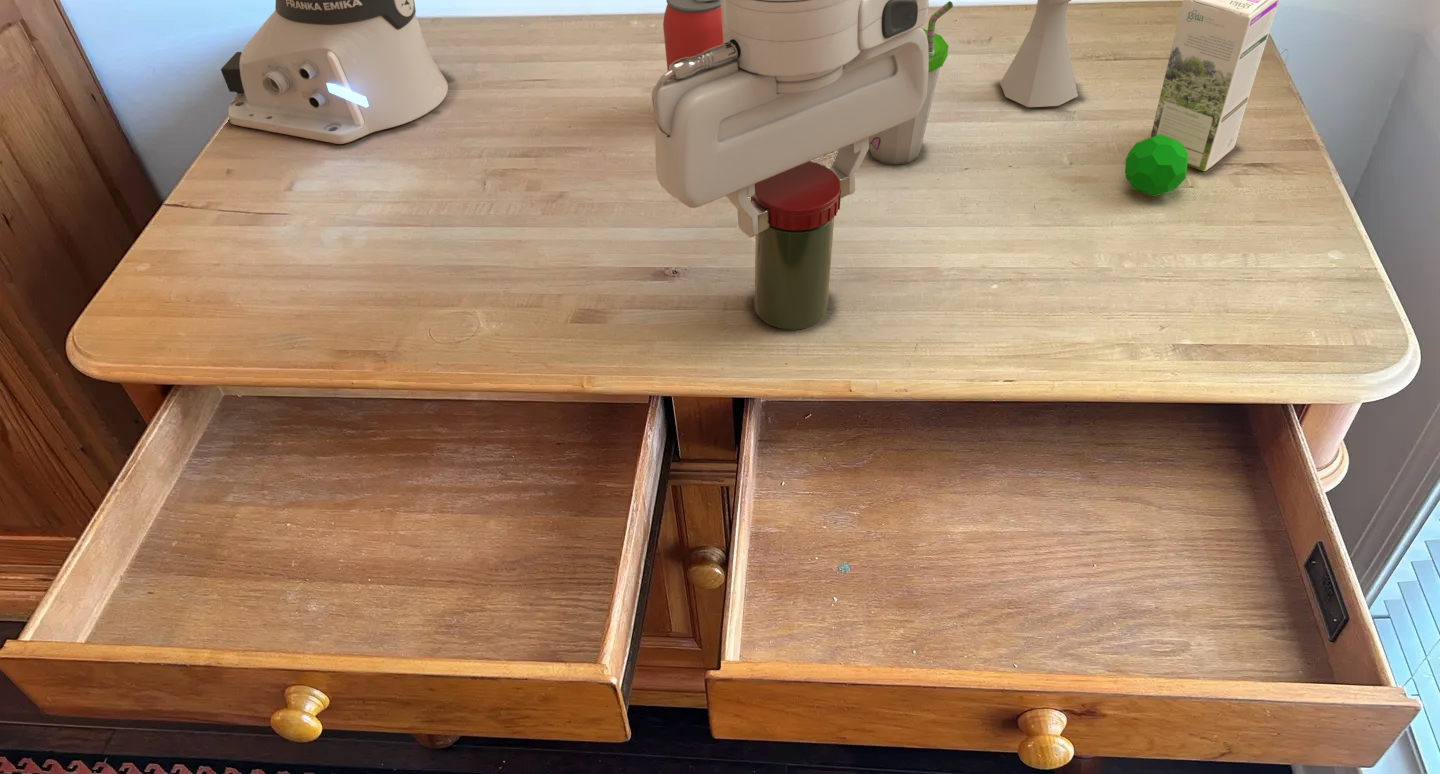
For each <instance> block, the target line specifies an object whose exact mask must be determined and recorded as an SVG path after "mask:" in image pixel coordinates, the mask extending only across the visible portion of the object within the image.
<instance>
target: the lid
mask: <svg viewBox="0 0 1440 774" xmlns="http://www.w3.org/2000/svg"><path fill="white" fill-rule="evenodd" d="M841 199H842V198H841V189H840V181H839V179H838V177H837V176H836V174H835V173H834V172H833V171H831V170H830V169H829V167H826V166H825V165H822V164H821V163H818V162H814V161H809V162H807V163H804V164H802V165H799V166H797V167H794V168H792V169H790V170H787V171H785V172H782V173H780V174H777V175H775V176H773V177H770V178H768V179H765V180H763V181H760V182H758V183H756V184H755V194H754V196H752V197H750V202H751V201H753V200H755V201H756V202H757V203H758V205H759V204H760V206H763V207H765V208H766V209H768V210H769V221H768V223H769V224H770V225H771V226H774V227H777V228H780V229H786V230H807V229H813V228H816V227H819V226H822V225H824V224H826V223H827V222H830V220H832V219H833V218H834V219H835V217H836V216H837V214H838V211H839V210H840V209H841Z"/></svg>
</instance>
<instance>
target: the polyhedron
mask: <svg viewBox="0 0 1440 774" xmlns="http://www.w3.org/2000/svg"><path fill="white" fill-rule="evenodd" d="M1187 162H1188V154H1187V152H1186V150H1185V149H1184V147H1183V146H1182V144H1181V143H1180V142H1178V141H1176V140H1175V139H1172V138H1169V137H1166V136H1163V135H1157V136H1154V137H1151V138H1150V137H1148V138H1144V139H1143V140H1140V141H1137V142H1135V143H1134V145H1133V146H1132V147H1131V148H1130V150H1129V151H1128V152H1127V155H1126V157H1125V165H1124V175H1125V179H1126V181H1127V182H1128V183H1129V185H1130V187H1131V188H1132V189H1133V190H1136V191H1138V192H1140V193H1143V194H1145V195H1147V196H1151V197H1157V196H1159V195H1163V194H1167V193H1169V192H1171V191H1174V190H1176V189H1178V187H1179V186H1180V185H1181V184H1182V182H1183V181H1184V180H1186V177H1187V173H1188V166H1187Z"/></svg>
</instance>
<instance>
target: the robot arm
mask: <svg viewBox="0 0 1440 774" xmlns="http://www.w3.org/2000/svg"><path fill="white" fill-rule="evenodd" d="M720 4H721V17H722V30H723V44H722V45H719V46H716V47H713V48H710V49H708V50H706V51H704V52H702V53H700V54H698V55H695V56H693V57H685V58H681V59H679V60H677V61H675V62H673V63H672V64H670V66H669V71H668V70H667V71H666V72H665V73H664V74H662V76H661V77H660V78H659V79H658V81H657V82H656V83H655V85H654V86H653V87H652V91H651V104H652V112H653V119H654V122H655V135H654V136H655V137H654V139H655V145H654V146H655V172H656V178H657V181H658V183H659V185H660V186H661V187H662V189H663V190H664V191H665V192H667V194H669V195H670V196H671V197H672V198H674V199H675V200H677V201H678V202H680V203H682V204H683V205H685V206H686V207H688V208H691V209H696V208H700V207H703V206H705V205H708V204H710V203H712V202H714V201H717V200H720V199H722V198H724V197H726V198H727V199H728V200H729V202H730V203H731V204H732V205H733V207H734V208H735V209H737V223H738V227H739V229H740V231H741V232H742V233H743V234H744V235H746V236H748V237H749V238H755V236H756V235H759V234H761V233H763V232H765V231H767V230H769V229H770V224H769V223H768V221H769V210H768V209H766V208H765V207H763V206H760V204H759V205H758V203H757V202H756V201H755V200H753V201H751V200H750V199H749V198H751V197H752V196H754V194H755V184H756V183H758V182H760V181H763V180H765V179H768V178H770V177H773V176H775V175H777V174H780V173H782V172H785V171H787V170H790V169H792V168H794V167H797V166H799V165H802V164H804V163H807V162H809V161H810V162H812V161H814V160H815V159H818V158H821V157H824V156H826V155H828V154H831V153H833V152H836V151H837V153H836V155H835V158H834V161H833V164H832V167H830V168H829V167H828V169H830V170H831V171H833V172H834V173H835V174H836V176H837V177H838V179H839V181H840V189H841V199H843V198H845V197H848V196H850V195H851V196H852V195H853V194H855V192H856V174H858V171H859V170H860V167H861V165H862V163H863V161H864V159H865V157H866V155H867V153H868V151H869V137H870V136H872V135H875V134H877V133H879V132H882V131H884V130H887V129H889V128H892V127H894V126H896V125H899V124H901V123H904V122H906V121H909V120H911V119H913V118H915V117H916V116H917V115H918V113H919V111H920V110H921V108H922V106H923V104H924V103H925V100H926V96H927V88H928V72H929V49H928V40H927V36H926V34H925V32H924V30H923V29H924V28H922V27H923V25H925V23H926V21H927V19H928V16H929V10H930V9H929V8H930V1H929V0H720ZM274 8H275V10H274V11H273V12H272V13H271V14H270V16H269V17H268V18H267V19H266V20H265V22H263V24H262V25H261V26H260V27H259V29H258V30H257V31H256V32H255V33H254V34H253V36H252V37H251V38H249V40H248V42H247V43H246V44H245V45H244V48H243V50H242V51H236V52H235V53H234V54H233V55H232V57H230V58H229V59H228V61H227V62H226V63H225V64H224V65H223V66H222V67H221V68H220V71H221V74H222V77H223V79H224V82H225V84H226V86H227V89H228V92H229V93H236V95H235V96H234V97H233V99H232V100H231V101H230V103H229V105H228V110H227V113H228V114H227V115H228V118H229V122H230V124H231V125H235V126H240V127H244V128H250V129H254V130H255V129H256V130H261V131H266V132H270V133H271V132H272V133H275V134H276V133H277V134H281V135H288V136H293V137H299V138H303V139H309V140H314V141H320V142H324V143H325V142H326V143H331V144H335V145H337V144H338V145H343V144H347V143H350V142H354V141H356V140H358V139H360V138H363V137H366V136H367V135H369V134H372V133H375V132H378V131H383V130H387V129H391V128H396V127H398V126H401V125H405V124H407V123H410V122H413V121H415V120H418V119H419V118H421V117H423V116H425V115H426V114H429V113H430V112H432V111H433V110H434V109H436V108H437V107H438V106H439V105H440V104H441V103H442V102H443V101H444V100H445V99H446V97H447V95H448V91H449V83H448V81H447V80H446V78H445V76H444V75H443V73H442V72H441V70H440V68H439V66H438V64H437V63H436V62H437V61H435V58H434V57H433V54H432V51H431V49H430V48H429V45H428V42H427V40H426V38H425V36H424V33H423V31H422V28H421V25H420V23H419V20H418V17H417V14H416V11H417V9H416V4H415V0H275V7H274ZM671 77H672V78H673V79H671V80H668V79H670V78H671Z"/></svg>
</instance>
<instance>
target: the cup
mask: <svg viewBox="0 0 1440 774" xmlns="http://www.w3.org/2000/svg"><path fill="white" fill-rule="evenodd" d="M953 7H954V3H953V2H952V1H948V2H946V3H945V4H944V5H943V6H941V7H940V8H938V10H936V11H935V12H934V13H933V14H931V15H930V18H929V19H928V24H927V29H925V28H922V29H923V30H924V32H925V34H926V36H927V40H928V49H929V72H928V88H927V96H926V100H925V103H924V104H923V106H922V108H921V110H920V111H919V113H918V115H917V116H916V117H915V118H913V119H911V120H909V121H906V122H904V123H901V124H899V125H896V126H894V127H892V128H889V129H887V130H884V131H882V132H879V133H877V134H875V135H872V136H870V137H869V149H868V151H869V153H870V155H871V158H872V159H874V160H876V161H877V162H879V163H880V164H885V165H892V166H898V165H907V164H910V163H911V162H913V161H916V160H918V157H919V156H920V154H921V150H922V145H923V142H924V139H925V134H926V129H927V124H928V120H929V116H930V113H931V107H932V103H933V100H934V99H933V98H934V95H935V91H936V87H937V82H938V78H939V74H940V69H941V68H942V67H943V65H944V64H945V62H946V60H947V58H948V53H949V45H948V43H947V42H946V40H945V38H943V36H942V35H940V34H938V33H935V32H936V31H935V30H936V22H937V20H938V19H940V18H941V17H943V16H944V15H945V14H946V13H948V12H949V11H951V9H953Z"/></svg>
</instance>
